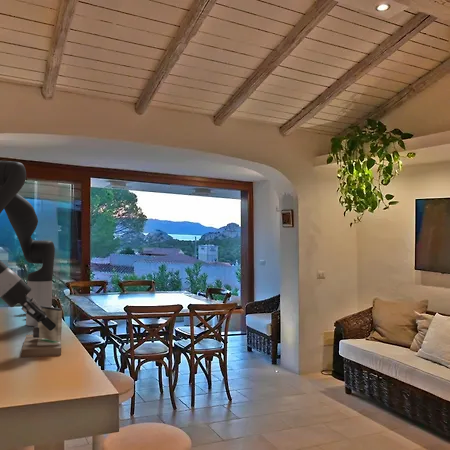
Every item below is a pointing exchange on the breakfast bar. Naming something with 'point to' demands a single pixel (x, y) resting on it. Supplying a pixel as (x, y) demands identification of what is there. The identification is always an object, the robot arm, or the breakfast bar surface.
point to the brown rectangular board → (40, 347)
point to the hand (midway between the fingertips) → (53, 328)
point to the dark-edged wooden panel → (56, 318)
